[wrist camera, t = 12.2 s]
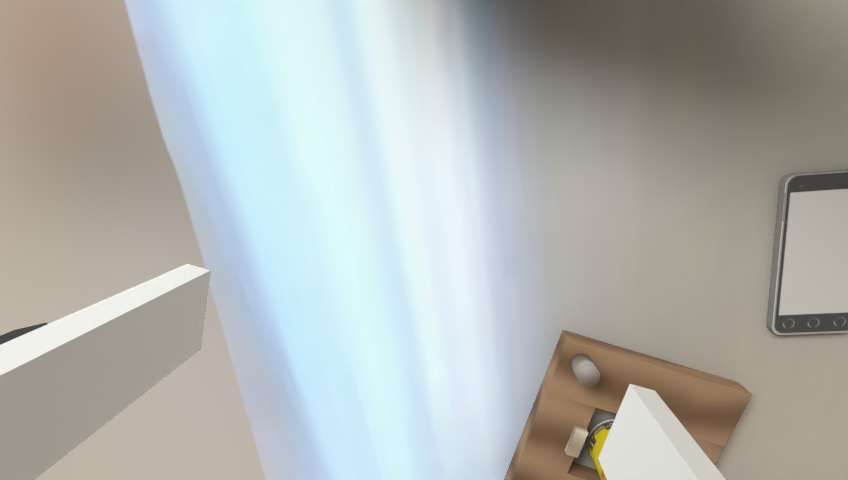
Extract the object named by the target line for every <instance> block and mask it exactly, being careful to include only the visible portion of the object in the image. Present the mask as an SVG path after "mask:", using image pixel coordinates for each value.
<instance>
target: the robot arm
mask: <svg viewBox="0 0 848 480" xmlns="http://www.w3.org/2000/svg"><path fill="white" fill-rule="evenodd" d="M210 272H211V270H207V269H204V268H200V267H196V266H192V265H189V264H186V265H184V266H181V267H179V268H177V269H174V270H172V271H170V272H167V273H165V274H163V275H160V276H158V277H156V278H153V279H151V280H149V281H147V282H144V283H142V284H140V285H137V286H135V287H133V288H130V289H128V290H126V291H124V292H121V293H119V294H117V295H114V296H112V297H110V298H107V299H105V300H103V301H101V302H98V303H96V304H93V305H91V306H89V307H87V308H84V309H82V310H79V311H77V312H75V313H73V314H70V315H68V316H66V317H63V318H61V319H59V320H56V321H54V322H52V323H49V324H48V323H43V324H39V325H35V326H31V327H26V328H22V329H17V330H14V331H11V332H9V333H6V334H4V335H1V336H0V480H34V479H36V478H37V477H38V476H40V475H41V474H42V473H43V472H45V471H46V470H47V469H48V468H50V467H51V466H52V465H54V464H55V463H56V462H57V461H59V460H60V459H61V458H62V457H64V456H65V455H66V454H68V453H69V452H70V451H71V450H73V449H74V448H75V447H76V446H78V445H79V444H80V443H81V442H83V441H84V440H85V439H87V438H88V437H89V436H90V435H92V434H93V433H94V432H96V431H97V430H98V429H99V428H101V427H102V426H103V425H104V424H106V423H107V422H108V421H110V420H111V419H112V418H113V417H115V416H116V415H117V414H119V413H120V412H121V411H122V410H124V409H125V408H126V407H128V406H129V405H130V404H131V403H133V402H134V401H135V400H136V399H138V398H139V397H140V396H141V395H143V394H144V393H145V392H147V391H148V390H149V389H150V388H152V387H153V386H154V385H156V384H157V383H158V382H159V381H161V380H162V379H163V378H164V377H166V376H167V375H168V374H170V373H171V372H172V371H173V370H175V369H176V368H177V367H178V366H180V365H181V364H182V363H184V362H185V361H186V360H187V359H189V358H190V357H191V356H192V355H194V354H195V353H196V352H198V351H199V350H200V349H201V343H202V334H203V326H204V319H205V311H206V303H207V295H208V287H209V279H210ZM598 460H599V462H600V465H601V467H602V469H603V471H604V474H605V476H606V478H607V480H726V479H725V478H724V477H723V475H722V474H721V473H720V472H719V470H718V469H717V468H716V467H715V465H714V464H713V463H712V462H711V460H710V459H709V458H708V457H707V455H706V454H705V453H704V452H703V450H702V449H701V448H700V447H699V445H698V444H697V443H696V442H695V440H694V439H693V438H692V437H691V435H690V434H689V433H688V431H687V430H686V429H685V428H684V426H683V425H682V424H681V423H680V421H679V420H678V419H677V418H676V416H675V415H674V414H673V413H672V411H671V410H670V409H669V408H668V406H667V405H666V404H665V403H664V401H663V400H662V399H661V398H660V396H659V395H658V394H657V393H656V391H655V390H651V389H647V388H644V387H640V386H636V385H633V384H629V387H628V389H627V391H626V394H625V396H624V398H623V401H622V403H621V405H620V408H619V410H618V413H617V415H616V417H615V420H614V422H613V424H612V427H611V429H610V431H609V434H608V436H607V438H606V441H605V443H604V446H603V448H602V450H601V453H600V455H599V457H598Z"/></svg>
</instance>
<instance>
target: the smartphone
mask: <svg viewBox="0 0 848 480" xmlns="http://www.w3.org/2000/svg"><path fill="white" fill-rule="evenodd" d="M766 325H767V328H768V329H769V330H770V331H772V332H774V333H776V334H778V335H794V334H821V333H847V332H848V170H841V171H828V172H814V173H801V174H789V175H786V176H784V177H783V178H782V179H781V181H780V183H779V193H778V204H777V215H776V225H775V236H774V247H773V258H772V269H771V280H770V291H769V302H768V313H767V324H766Z"/></svg>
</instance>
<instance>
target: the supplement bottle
mask: <svg viewBox="0 0 848 480" xmlns="http://www.w3.org/2000/svg"><path fill="white" fill-rule="evenodd" d="M614 420H615V419H608V420H605V421H602V422H600V423H599V424H597V425H596V426H595V427H594V428H593V429H592V430H591V432H590V434H589V437H588V449H589V452H590V455H591V457H592V459H593V462H594V464H595V466H596V469H597V471H598V473H599V476H600V478H601V480H607V478H606V476H605V474H604V471H603V469H602V467H601V465H600V462H599V460H598V457H599V455H600V453H601V450H602V448H603V446H604V443H605V441H606V438H607V436H608V434H609V431H610V429H611V427H612V424H613V422H614Z"/></svg>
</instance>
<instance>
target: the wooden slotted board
mask: <svg viewBox="0 0 848 480" xmlns="http://www.w3.org/2000/svg"><path fill="white" fill-rule="evenodd" d="M629 384H633V385H636V386H640V387H644V388H647V389H651V390H655V391H656V393H657V394H658V395H659V396H660V398H661V399H662V400H663V401H664V403H665V404H666V405H667V406H668V408H669V409H670V410H671V411H672V413H673V414H674V415H675V416H676V418H677V419H678V420H679V421H680V423H681V424H682V425H683V426H684V428H685V429H686V430H687V431H688V433H689V434H690V435H691V437H692V438H693V439H694V440H695V442H696V443H697V444H698V445H699V447H700V448H701V449H702V450H703V452H704V453H705V454H706V455H707V457H708V458H709V459H710V460H711V462H712V463H713V464H714V465H715V464H716V462H717V460H718V458H719V456H720V454H721V452H722V450H723V449H724V447H725V445H726V443H727V441H728V439H729V437H730V435H731V433H732V431H733V430H734V428H735V426H736V424H737V422H738V420H739V418H740V416H741V414H742V413H743V411H744V409H745V407H746V405H747V403H748V401H749V399H750V397H751V395H752V394H751V393H750V392H749V391H748V390H746V389H745V388H744V387H743V386H742V385H740V384H739V383H738V382H734V381H731V380H728V379H724V378H721V377H718V376H714V375H711V374H708V373H704V372H701V371H698V370H694V369H691V368H688V367H684V366H681V365H678V364H674V363H671V362H668V361H664V360H661V359H658V358H654V357H651V356H648V355H644V354H641V353H638V352H634V351H631V350H628V349H624V348H621V347H618V346H614V345H611V344H608V343H604V342H601V341H598V340H594V339H591V338H588V337H584V336H581V335H578V334H574V333H571V332H568V331H564V330H563V331H562V334H561V336H560V339H559V341H558V344H557V347H556V349H555V352H554V354H553V357H552V359H551V362H550V364H549V367H548V369H547V372H546V375H545V377H544V380H543V382H542V385H541V387H540V390H539V392H538V395H537V397H536V400H535V402H534V405H533V408H532V410H531V413H530V415H529V418H528V420H527V423H526V425H525V428H524V430H523V433H522V436H521V438H520V441H519V443H518V446H517V448H516V451H515V453H514V456H513V458H512V461H511V464H510V466H509V469H508V471H507V474H506V476H505V479H504V480H601V478H600V476H599V473H598V471H597V470H595V469H592V468H589V467H585V466H582V465H579V464H576V463H572V462H573V459H574V457H576V458H578V456H579V454H580V451H581V449H582V447H583V445H584V442H585V440H586V438H587V435H588V431H587V427H588V425H589V422H590V420H591V418H592V415H593V413H594V411H595V409H596V408H599V409H602V410H605V411H609V412H612V413H615V414H617V413H618V410H619V408H620V405H621V403H622V401H623V398H624V396H625V394H626V391H627V389H628V387H629Z"/></svg>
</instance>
